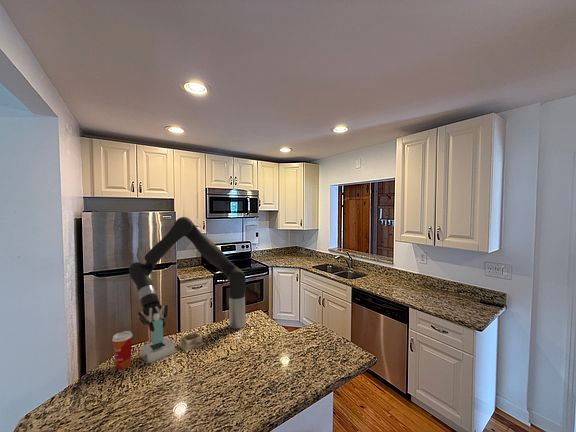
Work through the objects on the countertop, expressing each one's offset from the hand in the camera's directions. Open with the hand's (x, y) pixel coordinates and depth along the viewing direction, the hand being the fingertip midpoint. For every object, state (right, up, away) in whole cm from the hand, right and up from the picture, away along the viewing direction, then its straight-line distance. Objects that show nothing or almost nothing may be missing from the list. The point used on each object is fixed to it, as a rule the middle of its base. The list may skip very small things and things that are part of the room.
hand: (158, 328), depth 119 cm
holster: (+11, -13, +11) cm, 20 cm away
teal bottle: (-1, -7, +1) cm, 7 cm away
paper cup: (-12, -14, -6) cm, 20 cm away
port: (-1, -13, +2) cm, 13 cm away
